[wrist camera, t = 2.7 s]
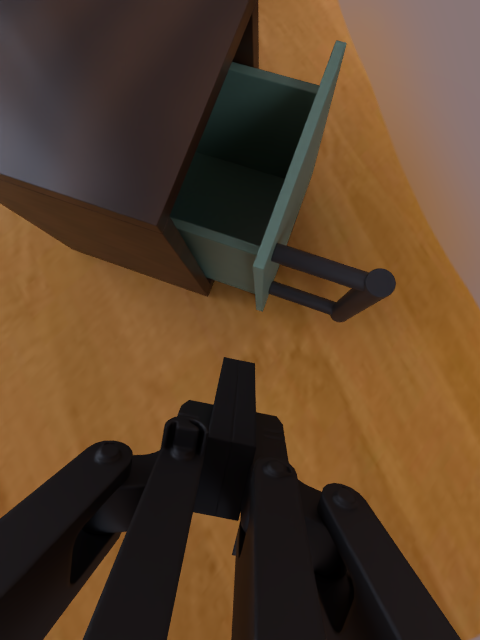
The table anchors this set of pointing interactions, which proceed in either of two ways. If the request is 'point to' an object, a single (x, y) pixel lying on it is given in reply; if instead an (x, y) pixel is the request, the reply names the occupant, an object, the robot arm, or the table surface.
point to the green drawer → (265, 190)
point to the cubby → (114, 119)
